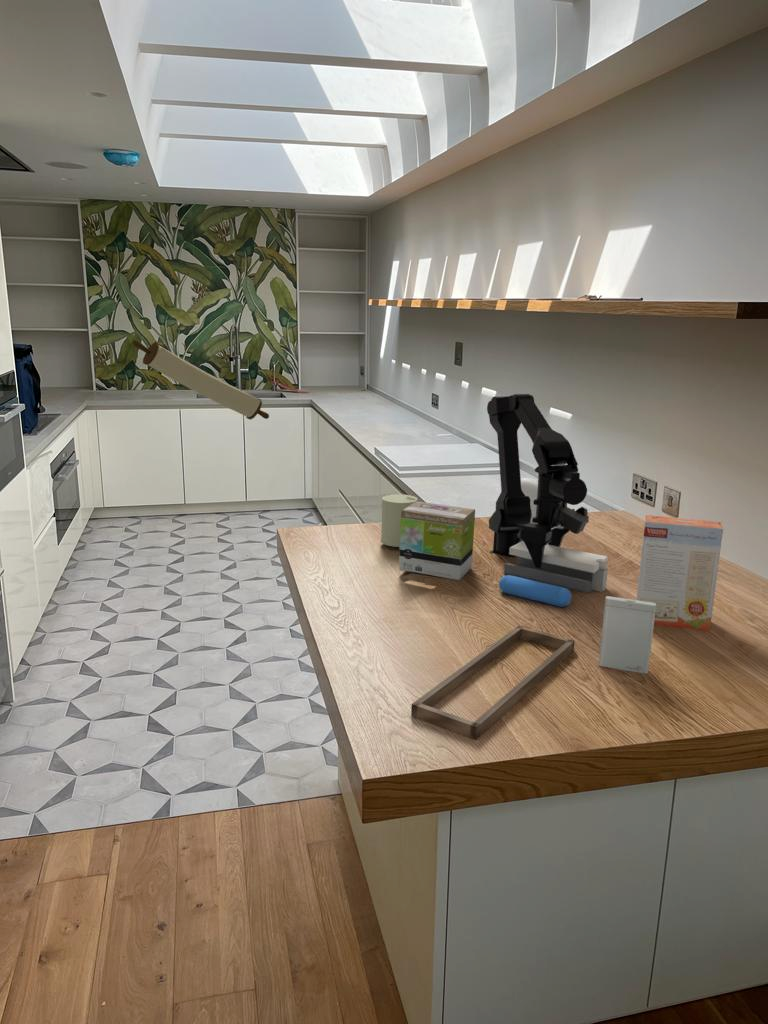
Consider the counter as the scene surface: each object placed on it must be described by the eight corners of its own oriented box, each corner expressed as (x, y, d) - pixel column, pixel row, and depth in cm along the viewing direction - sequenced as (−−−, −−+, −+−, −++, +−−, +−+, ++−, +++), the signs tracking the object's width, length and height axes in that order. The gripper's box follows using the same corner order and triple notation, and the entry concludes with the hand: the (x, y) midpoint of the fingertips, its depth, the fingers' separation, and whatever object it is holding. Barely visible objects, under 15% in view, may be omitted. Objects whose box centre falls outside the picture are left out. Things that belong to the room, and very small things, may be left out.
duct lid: (509, 554, 179) (509, 547, 179) (523, 546, 185) (524, 539, 185) (599, 573, 167) (600, 566, 167) (612, 564, 174) (612, 557, 173)
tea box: (397, 571, 181) (399, 509, 177) (412, 559, 190) (414, 499, 186) (460, 581, 176) (463, 517, 172) (472, 568, 185) (476, 507, 181)
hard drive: (647, 674, 133) (656, 606, 130) (598, 666, 136) (605, 598, 133) (648, 670, 135) (656, 602, 131) (599, 662, 137) (606, 595, 134)
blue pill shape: (495, 593, 169) (496, 576, 168) (503, 588, 172) (504, 571, 171) (566, 611, 160) (567, 592, 159) (573, 605, 163) (575, 587, 162)
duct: (504, 574, 181) (505, 554, 180) (518, 565, 187) (519, 546, 186) (597, 595, 169) (599, 574, 168) (609, 585, 175) (611, 565, 174)
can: (416, 547, 199) (418, 501, 196) (380, 546, 199) (381, 500, 196) (415, 536, 208) (417, 492, 205) (380, 535, 208) (381, 491, 205)
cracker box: (708, 622, 156) (722, 520, 151) (709, 633, 151) (724, 528, 145) (634, 611, 160) (645, 512, 155) (633, 622, 155) (645, 520, 149)
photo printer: (509, 518, 228) (512, 476, 225) (519, 515, 231) (522, 474, 228) (537, 526, 220) (540, 483, 217) (546, 523, 223) (550, 481, 220)
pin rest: (411, 716, 118) (411, 704, 118) (517, 635, 148) (518, 625, 147) (476, 739, 112) (476, 727, 112) (573, 650, 142) (574, 640, 141)
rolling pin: (124, 348, 154) (126, 358, 150) (139, 325, 152) (141, 334, 148) (259, 422, 172) (264, 433, 168) (273, 402, 170) (278, 412, 167)
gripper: (569, 507, 163) (564, 579, 167) (599, 493, 178) (594, 559, 182) (519, 500, 169) (516, 570, 173) (553, 487, 184) (549, 551, 188)
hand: (545, 562), depth 178 cm, fingers open, 9 cm apart
